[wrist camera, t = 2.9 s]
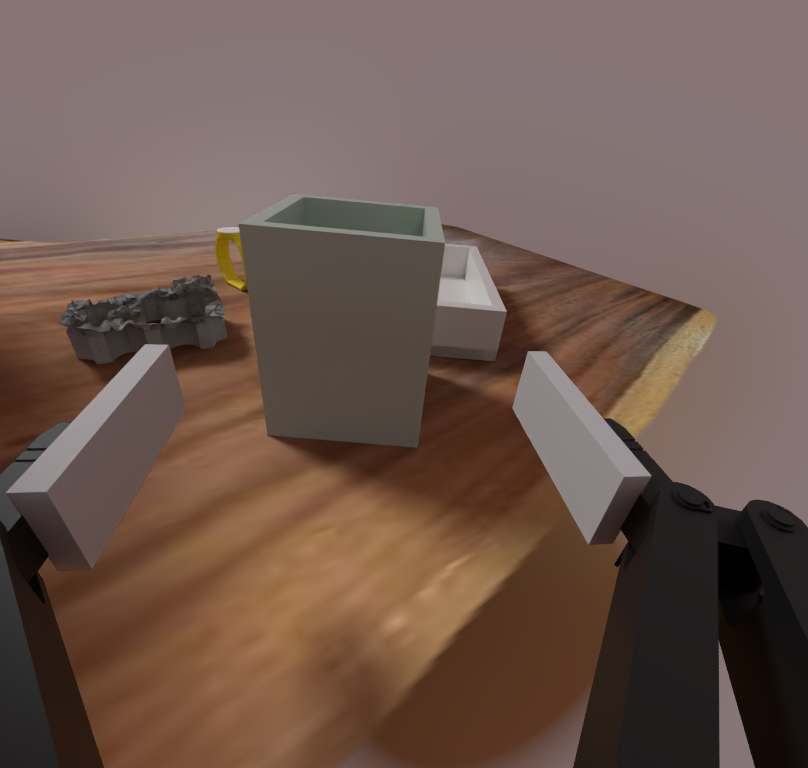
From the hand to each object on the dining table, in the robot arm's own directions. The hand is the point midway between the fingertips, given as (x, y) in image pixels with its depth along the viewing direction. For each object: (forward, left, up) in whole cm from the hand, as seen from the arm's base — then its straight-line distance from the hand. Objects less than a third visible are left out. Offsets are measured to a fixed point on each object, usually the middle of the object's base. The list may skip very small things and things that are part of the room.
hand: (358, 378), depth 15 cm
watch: (-16, +29, -8) cm, 34 cm away
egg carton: (-18, +16, -8) cm, 26 cm away
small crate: (-1, +10, -8) cm, 13 cm away
